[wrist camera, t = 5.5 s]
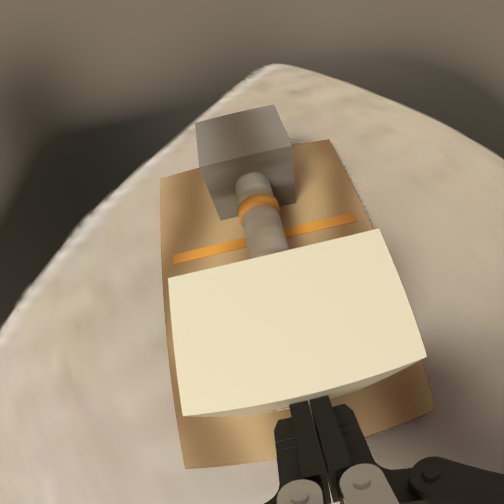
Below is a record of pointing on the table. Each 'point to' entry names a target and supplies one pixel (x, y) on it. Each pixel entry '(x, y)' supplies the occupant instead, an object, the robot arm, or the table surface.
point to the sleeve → (290, 327)
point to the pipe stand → (260, 244)
